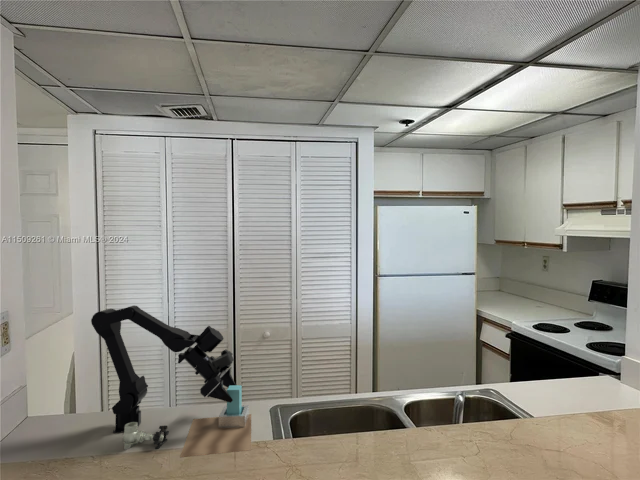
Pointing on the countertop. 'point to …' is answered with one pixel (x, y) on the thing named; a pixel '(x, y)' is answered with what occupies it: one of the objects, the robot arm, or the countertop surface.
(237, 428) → the board
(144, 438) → the valve
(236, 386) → the block
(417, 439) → the countertop surface
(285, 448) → the countertop surface
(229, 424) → the collar
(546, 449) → the countertop surface
